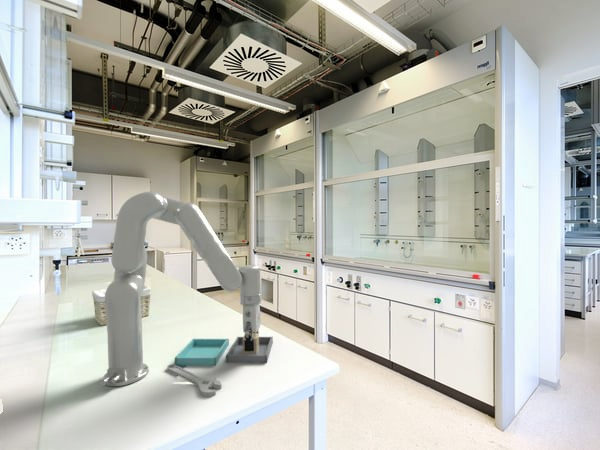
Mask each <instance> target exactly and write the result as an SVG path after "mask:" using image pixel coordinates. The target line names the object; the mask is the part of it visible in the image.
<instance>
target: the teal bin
mask: <svg viewBox="0 0 600 450" xmlns="http://www.w3.org/2000/svg"><path fill="white" fill-rule="evenodd" d="M229 341H230V340H229V338H192V339H191V340H190V342H189V343H187V344H186V345H185V347H184V348H183V349H182V350H181V351H179V353H178V354H177V355H176V356H175V357H174V364H175V365H177V366H179V367H181V368H186V367H187V366H217V365H218V363H219V361H220V359H221V358H222V357H223V355H224V354H225V351H227V349H228V347H229V345H230V342H229Z"/></svg>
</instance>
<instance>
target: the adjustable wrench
mask: <svg viewBox="0 0 600 450" xmlns="http://www.w3.org/2000/svg"><path fill="white" fill-rule="evenodd" d="M166 371H168V372H169V373H171V374H173V375H175V376H177V377H178V376H181V377H183V378H184V379H187V380H188V381H189V382H190V384H193V385H194V386H196V387H198V389H199V393H200V395H201V396H203V397H206V398H207V397H208V398H209V397H213V396H217V392H216V391H217V389H218V390H221V389H222V383H221V381H220V380H218V379H217V378H211V379H210V378H208V379H206V378H202V377H200V376H199V375H196V374H194V373H192V372H190V371H188V370H187V369H184V367H179V366H177V365H175V363H174V364H169V365H167V366H166ZM212 388H213V389H212ZM215 389H216V390H215Z"/></svg>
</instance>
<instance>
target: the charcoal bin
mask: <svg viewBox="0 0 600 450" xmlns="http://www.w3.org/2000/svg"><path fill="white" fill-rule="evenodd" d="M243 337H244V336H237V337H236V339H235V340H234V342H233V344H232V345H231V347H230V348H229V350H228V352H227V354H226V355H225V357H226V361H225V363H230V364H231V363H232V364H233V363H236V364H237V363H244V364H246V363H249V364H251V363H252V364H253V363H259V364H261V363H266V364H267V363H268V360H269V357H270V353H271V350H272V347H273V344H274V341H273V340H274V339H273V338H274V336H259V350H258V353H257V355H243Z"/></svg>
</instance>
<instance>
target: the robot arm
mask: <svg viewBox="0 0 600 450" xmlns="http://www.w3.org/2000/svg"><path fill="white" fill-rule="evenodd" d="M150 219H154V220H158V221H162V222H166V223H170V224H172V225H178V226H179V227H180V229H181V230H182V232H183V233H184V234H185V236H186V238H187V240H189V243H190V244H191V245H192V247H193V248H194V249H195V251H196V253H197V254H198V255H199V257H200V258H201V259H202V260H203V261H204V263H205V264H206V266H207V268H209V270H210V271H211V273H212V275H213V276H214V277H215V280H217V282H218V284H219V285H220V288H222V289H223V290H224V291H226V292H235V291H237V290H238V289H239V302H240V303H239V304H240V305H241V306H242V331H243V333H244V335H245V336H244V335H243V337H245V338H244V345H245V351H254V340H253V333H259V334H260V332H259V330H260V326H261V325H262V322H261V309H260V308H261V307H260V304H261V303H262V296H261V293H262V292H261V291H262V290H261V289H262V287H261V268H260V266H258V265H256V264H247V265H246V264H245V265H236V264H235V262H234V261H233V260H232V258H231V257H230V255H229V254H228V252H227V250H226V249H225V247H224V245H223V244H222V242H221V240H220V239H219V237H218V235H217V234H216V232H215V231H214V229H213V227H212V226H211V224H210V223H209V221H208V220H207V218H206V216H205V215H204V214H203V212H202V211H201V209H200V208H199V206H198V205H196V204H195V203H193V202H182V201H180V200H176V199H173V198H169V197H166V196H162V195H161V194H160V193H158V192H156V191H145V192H144V191H143V192H140V193H137V194H135V195H133V196H131V197H130V198H128V199H127V200H126V201H124V203H123V204H122V205H121V207H120V209H119V210H118V213H117V218H116V224H115V229H114V230H115V231H114V238H113V247H112V253H111V258H110V261H111V266H112V267H113V269H114V275H113V276H114V278H113V280H112V282H111V283H110V284H109V285H108V286H107V288H106V289H107V290H106V293H105V308H106V316H107V325H106V327H107V329H106V331H107V359H108V363H107V364H108V368H107V369H106V373H105V374H104V375H103V377H102V378H101V380H99V386H101V387H105V386H108V387H122V386H126V385H127V386H128V385H131V384H133V383H135V382H137V381H139V380H141V379H143V378H144V377H145V376H147V375H148V373H149V371H150V370H149V365H147V364H146V363H144V356H143V355H144V353H143V352H144V351H143V321H142V320H143V317H142V315H141V294H142V292H143V289H144V285H146V284H145V283H146V273H147V266H148V265H147V264H148V252H147V249H146V247H145V243H146V242H145V241H146V233H147V224H148V223H149V221H150ZM249 334H251V336H250V335H249Z"/></svg>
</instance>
